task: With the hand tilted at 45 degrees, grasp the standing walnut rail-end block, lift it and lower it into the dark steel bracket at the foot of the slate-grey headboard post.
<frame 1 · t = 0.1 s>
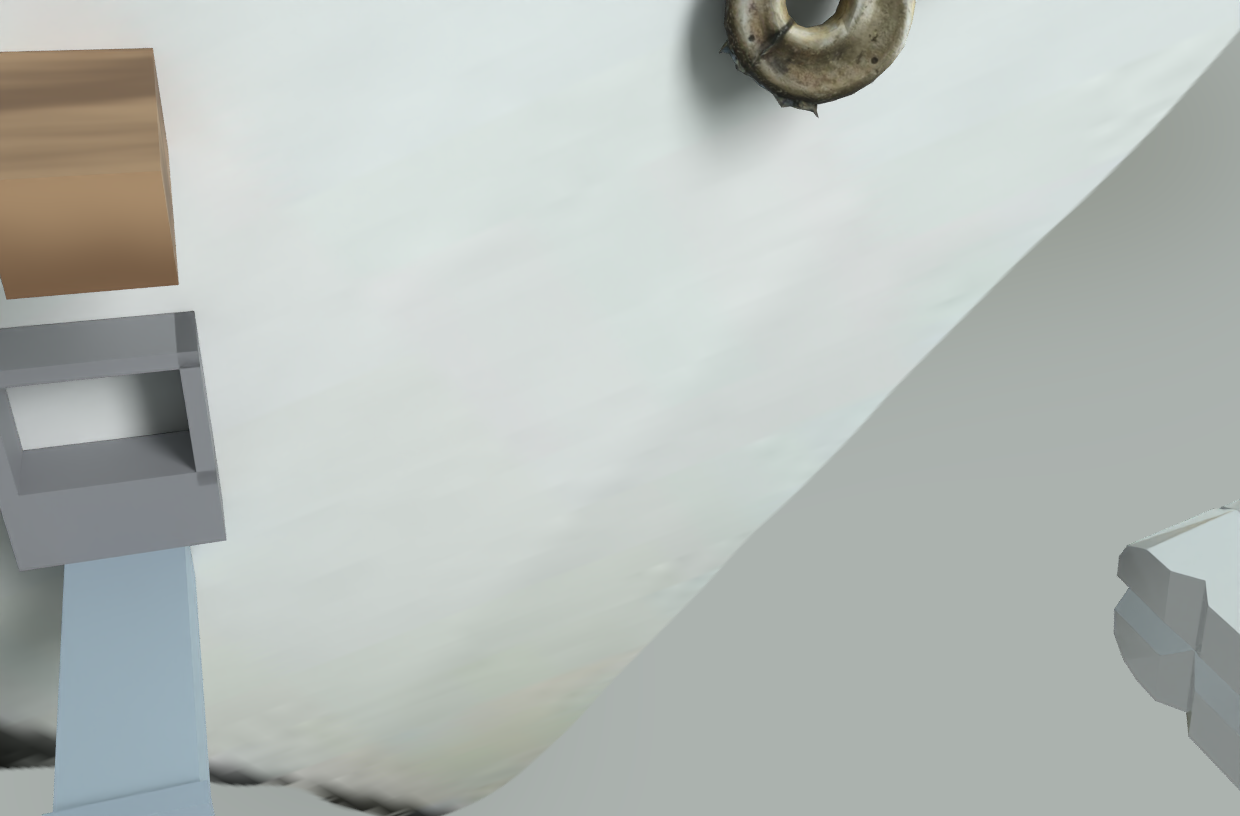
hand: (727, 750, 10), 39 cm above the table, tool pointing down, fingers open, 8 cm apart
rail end: (88, 103, 43), on the table
headboard post: (98, 390, 50), on the table
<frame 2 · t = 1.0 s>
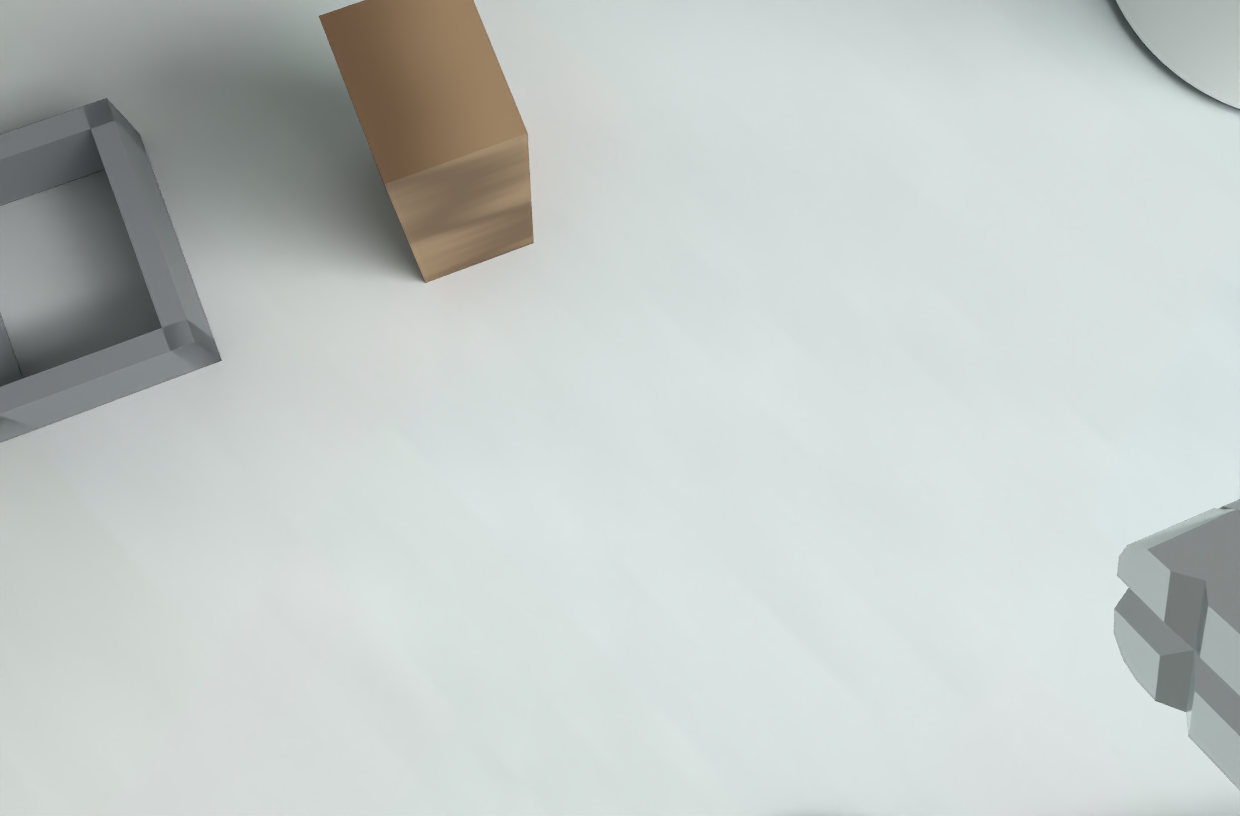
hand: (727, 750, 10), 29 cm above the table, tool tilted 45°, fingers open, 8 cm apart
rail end: (454, 198, 41), on the table
headboard post: (78, 281, 40), on the table
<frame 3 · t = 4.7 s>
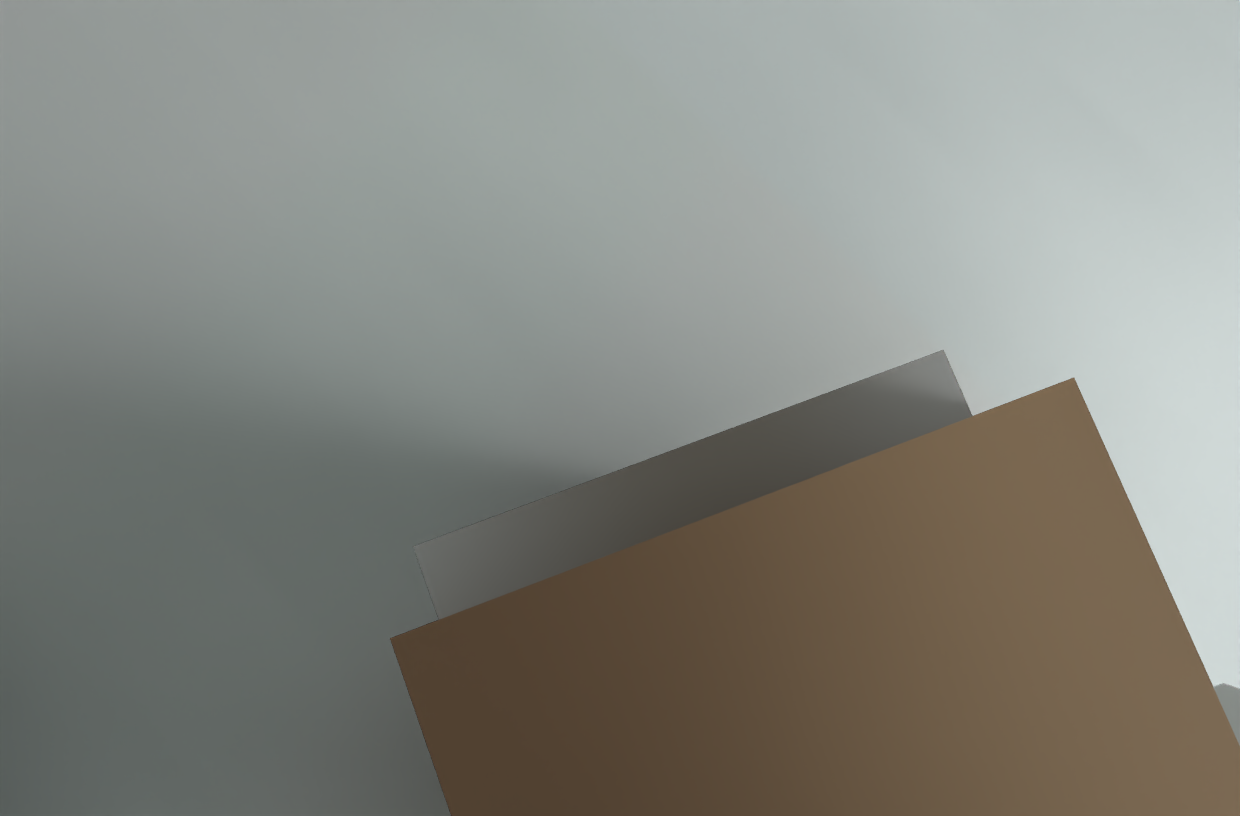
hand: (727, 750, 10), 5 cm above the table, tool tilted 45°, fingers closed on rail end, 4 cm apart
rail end: (675, 755, 16), on the table, touching gripper
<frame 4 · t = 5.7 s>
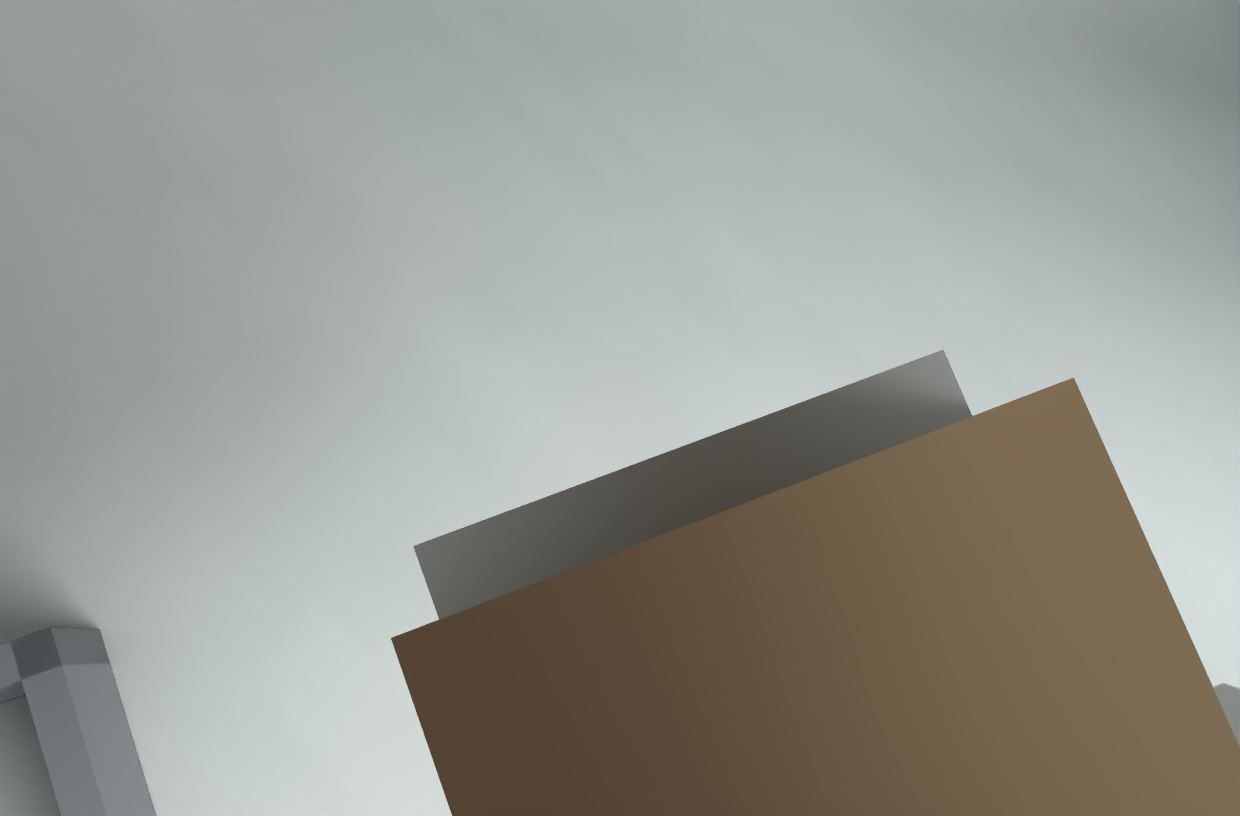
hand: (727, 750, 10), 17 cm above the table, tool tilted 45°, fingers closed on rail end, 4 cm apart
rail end: (675, 754, 16), point 12 cm above the table, touching gripper
when the fingers open (7 cm above the table, at t = 9.5 s): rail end drops 2 cm, resting in headboard post.
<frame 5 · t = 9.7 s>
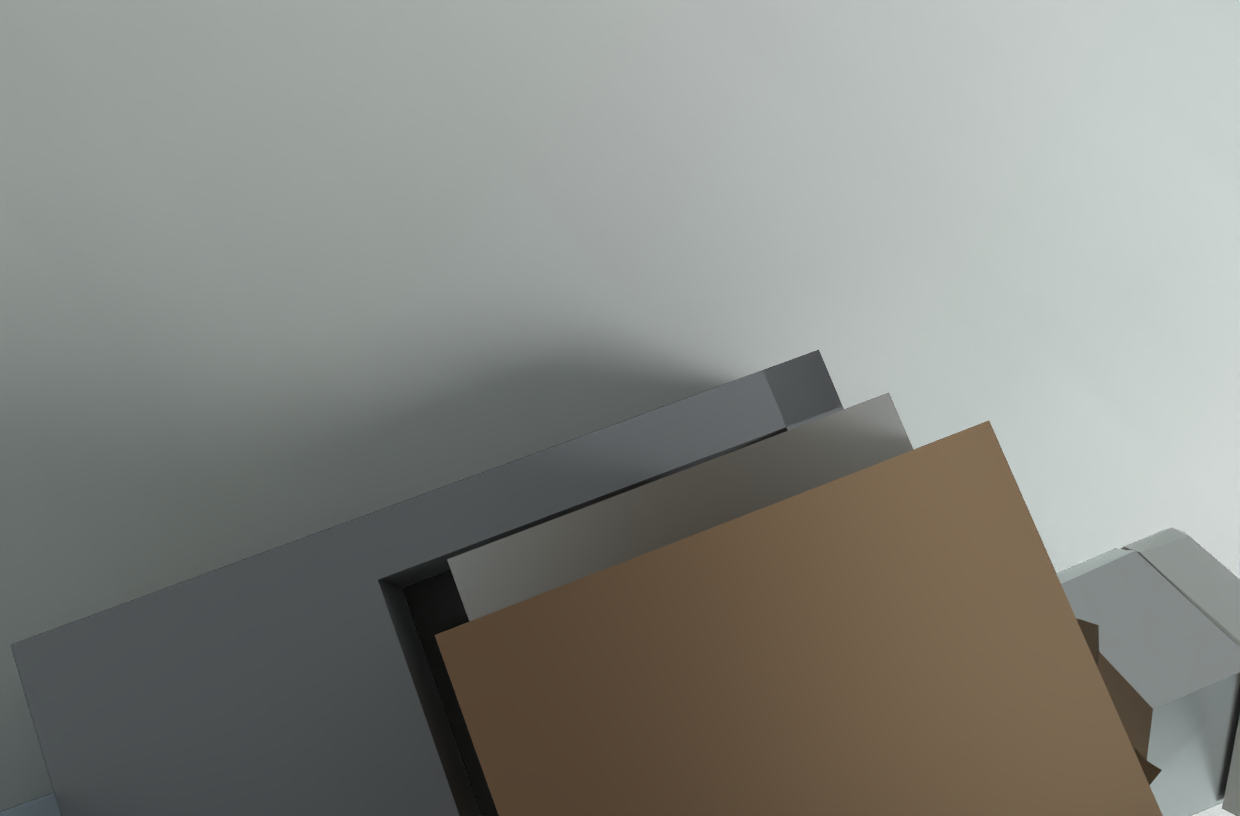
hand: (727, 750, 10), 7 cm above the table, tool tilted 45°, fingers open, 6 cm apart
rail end: (668, 744, 17), resting in headboard post
headboard post: (660, 746, 17), on the table
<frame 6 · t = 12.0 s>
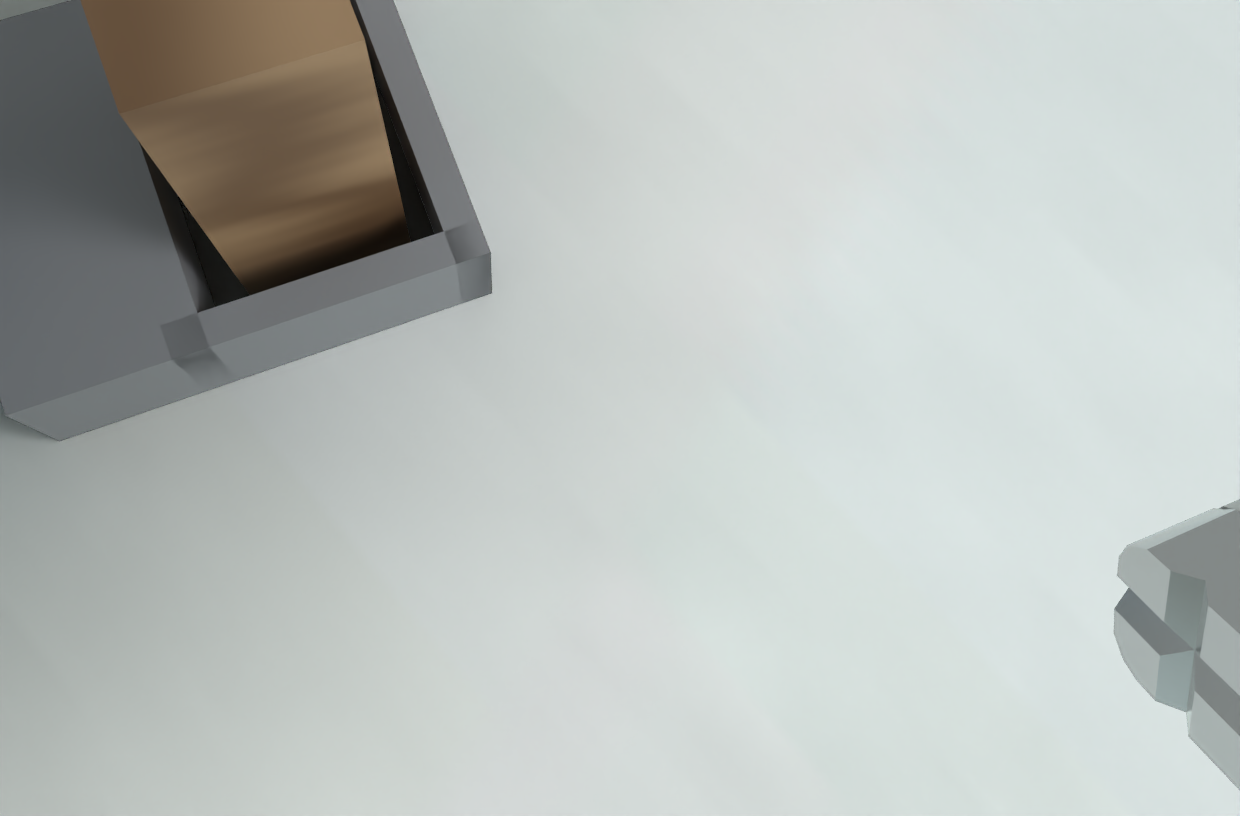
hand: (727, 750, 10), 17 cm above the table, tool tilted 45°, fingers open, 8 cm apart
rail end: (300, 181, 29), resting in headboard post
headboard post: (294, 181, 29), on the table
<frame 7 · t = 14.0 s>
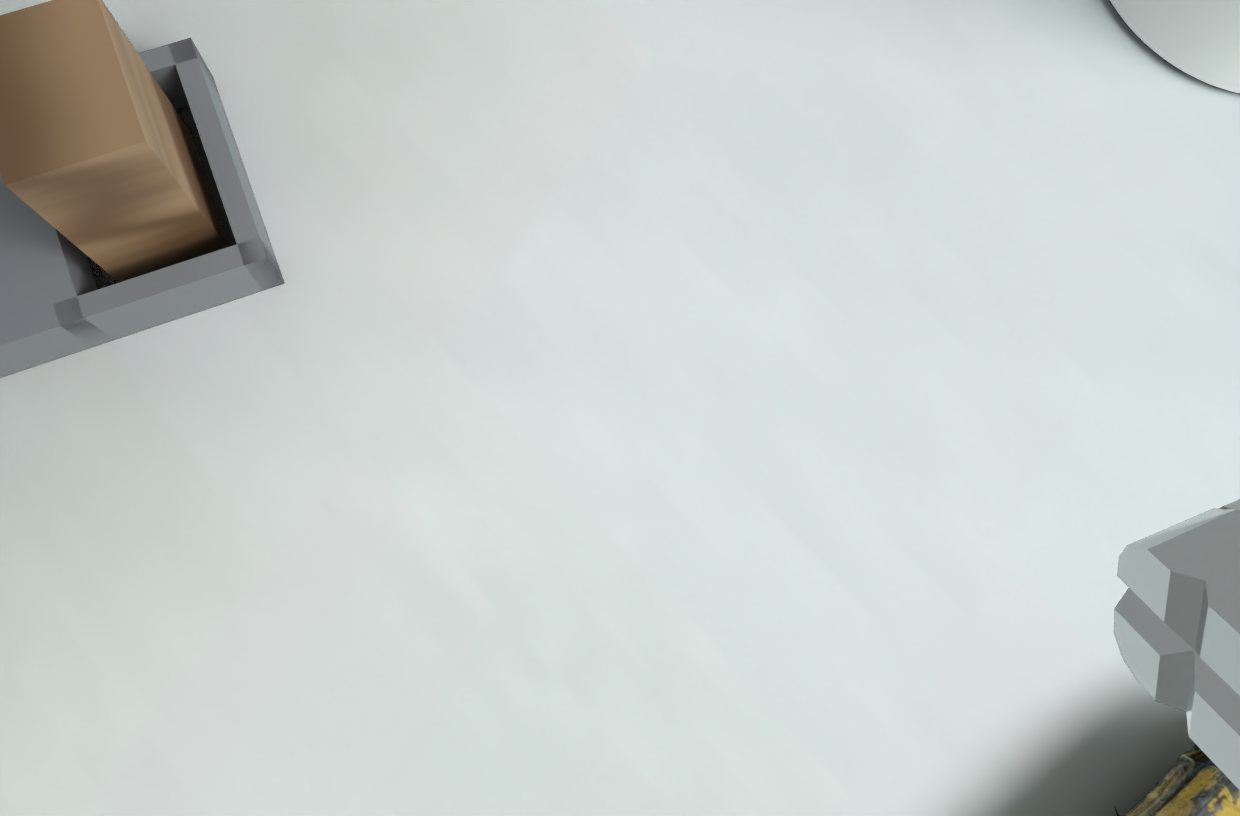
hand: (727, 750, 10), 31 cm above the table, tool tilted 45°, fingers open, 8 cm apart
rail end: (158, 208, 43), resting in headboard post
headboard post: (154, 208, 43), on the table
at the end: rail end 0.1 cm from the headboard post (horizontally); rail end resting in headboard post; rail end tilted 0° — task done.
